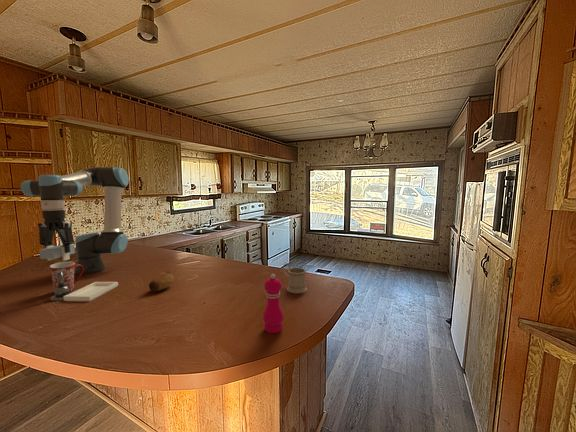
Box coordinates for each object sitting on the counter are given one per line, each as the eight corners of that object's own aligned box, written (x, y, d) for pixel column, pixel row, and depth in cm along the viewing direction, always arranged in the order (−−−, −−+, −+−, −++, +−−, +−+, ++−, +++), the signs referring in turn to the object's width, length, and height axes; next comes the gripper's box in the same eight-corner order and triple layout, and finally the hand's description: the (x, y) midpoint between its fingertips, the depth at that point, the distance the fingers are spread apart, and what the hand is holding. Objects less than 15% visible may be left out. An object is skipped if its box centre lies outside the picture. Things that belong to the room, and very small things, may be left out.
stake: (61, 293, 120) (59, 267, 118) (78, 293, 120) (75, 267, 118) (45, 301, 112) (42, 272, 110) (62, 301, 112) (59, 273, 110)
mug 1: (55, 296, 116) (54, 269, 115) (48, 291, 121) (46, 264, 119) (88, 287, 127) (87, 262, 125) (79, 283, 132) (78, 258, 130)
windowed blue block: (54, 258, 109) (53, 249, 108) (40, 258, 109) (39, 249, 108) (77, 252, 120) (77, 244, 120) (64, 252, 121) (64, 244, 120)
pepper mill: (263, 323, 92) (262, 271, 90) (282, 322, 92) (282, 270, 90) (263, 334, 85) (262, 277, 83) (284, 333, 85) (283, 277, 83)
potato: (156, 299, 120) (143, 290, 120) (174, 283, 132) (162, 275, 132) (161, 289, 117) (147, 280, 117) (179, 274, 129) (166, 265, 129)
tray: (95, 285, 129) (95, 281, 129) (118, 285, 129) (117, 281, 129) (63, 301, 112) (63, 296, 111) (90, 301, 111) (89, 296, 111)
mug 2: (310, 288, 124) (310, 265, 123) (297, 295, 117) (297, 270, 116) (289, 281, 134) (289, 260, 133) (276, 287, 127) (276, 264, 126)
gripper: (23, 210, 108) (29, 262, 110) (67, 210, 108) (72, 262, 110) (40, 209, 115) (46, 257, 118) (81, 208, 115) (86, 257, 118)
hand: (58, 259), depth 114 cm, fingers closed on windowed blue block, 6 cm apart
